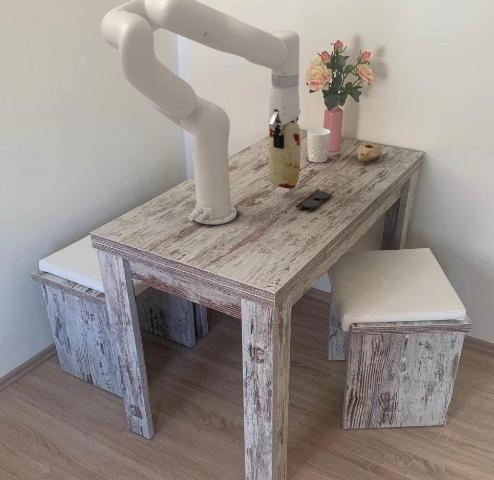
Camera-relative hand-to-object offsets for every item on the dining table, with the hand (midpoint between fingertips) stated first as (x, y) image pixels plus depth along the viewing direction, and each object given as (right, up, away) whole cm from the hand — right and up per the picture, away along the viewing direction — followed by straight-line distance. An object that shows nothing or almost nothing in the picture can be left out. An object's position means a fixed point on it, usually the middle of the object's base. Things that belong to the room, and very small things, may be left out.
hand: (285, 143), depth 167 cm
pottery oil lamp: (+29, +2, +34) cm, 44 cm away
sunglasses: (+9, -17, +4) cm, 19 cm away
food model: (0, -11, +7) cm, 13 cm away
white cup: (+12, +3, +35) cm, 37 cm away
